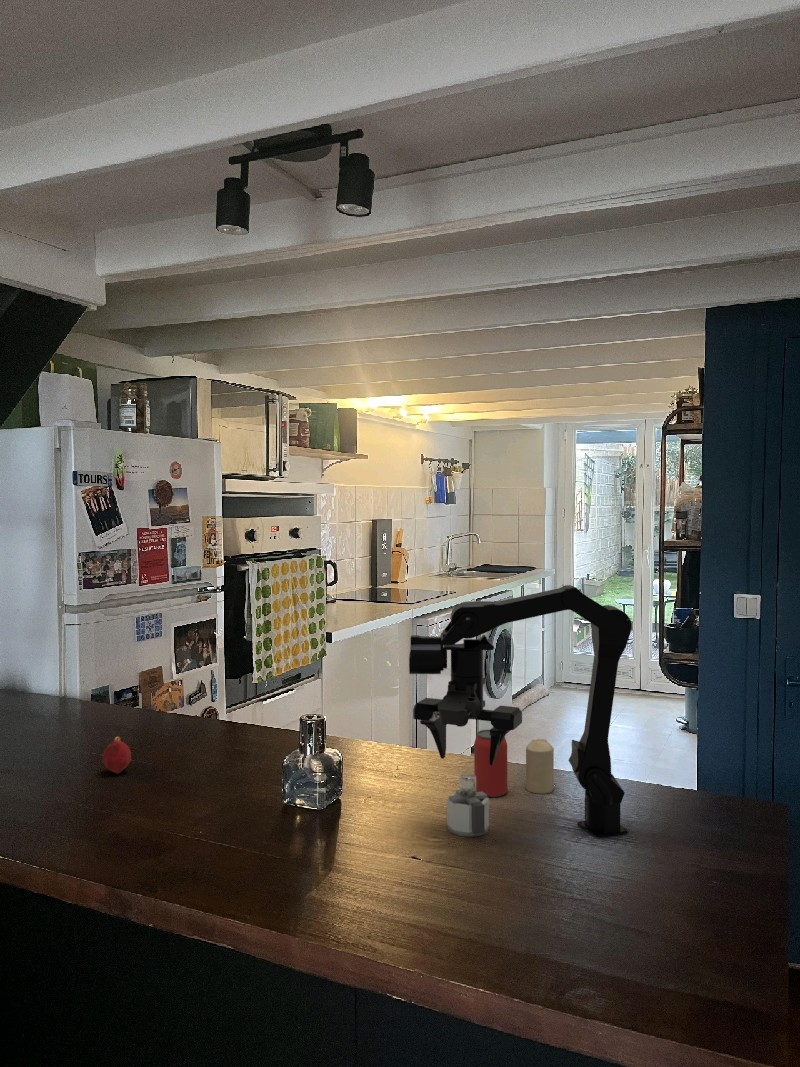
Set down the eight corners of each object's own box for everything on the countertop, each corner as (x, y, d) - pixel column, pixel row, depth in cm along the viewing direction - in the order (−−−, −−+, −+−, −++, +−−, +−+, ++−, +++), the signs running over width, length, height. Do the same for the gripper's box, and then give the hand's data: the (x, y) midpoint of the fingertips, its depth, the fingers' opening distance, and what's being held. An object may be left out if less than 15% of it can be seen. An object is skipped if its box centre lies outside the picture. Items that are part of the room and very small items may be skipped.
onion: (125, 778, 175) (125, 741, 175) (99, 778, 175) (98, 741, 175) (135, 769, 181) (134, 733, 180) (109, 769, 181) (108, 733, 181)
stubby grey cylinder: (485, 822, 145) (485, 779, 145) (461, 826, 143) (461, 782, 143) (474, 813, 149) (474, 771, 149) (451, 816, 148) (450, 774, 147)
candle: (545, 796, 162) (545, 746, 162) (521, 790, 166) (521, 741, 165) (558, 788, 167) (558, 739, 166) (534, 782, 170) (534, 735, 170)
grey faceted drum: (498, 835, 143) (498, 801, 143) (460, 842, 141) (460, 807, 140) (477, 818, 151) (477, 786, 151) (441, 824, 148) (441, 791, 148)
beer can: (506, 799, 161) (506, 738, 160) (472, 797, 162) (472, 737, 161) (508, 787, 167) (508, 729, 167) (476, 785, 168) (476, 727, 168)
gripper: (400, 678, 142) (400, 767, 142) (503, 688, 134) (503, 782, 135) (425, 666, 152) (425, 750, 153) (523, 675, 144) (522, 763, 145)
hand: (467, 761), depth 146 cm, fingers open, 9 cm apart
